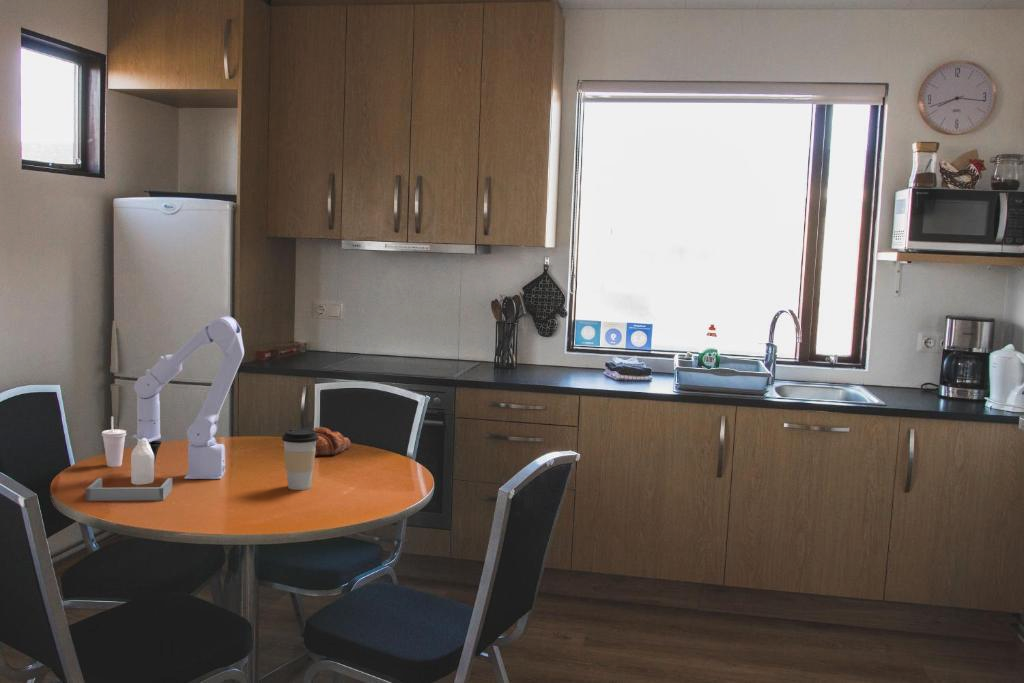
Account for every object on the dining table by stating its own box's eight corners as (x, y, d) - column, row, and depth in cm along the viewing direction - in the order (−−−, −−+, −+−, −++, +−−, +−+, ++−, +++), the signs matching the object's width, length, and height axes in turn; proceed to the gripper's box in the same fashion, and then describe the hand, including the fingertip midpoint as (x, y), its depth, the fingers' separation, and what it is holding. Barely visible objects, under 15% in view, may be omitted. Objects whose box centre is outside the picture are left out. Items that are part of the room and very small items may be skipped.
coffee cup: (279, 483, 242) (279, 428, 241) (315, 481, 246) (315, 427, 244) (283, 493, 233) (284, 435, 232) (320, 490, 237) (321, 434, 235)
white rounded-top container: (141, 434, 242) (159, 436, 240) (141, 478, 243) (159, 480, 241) (125, 438, 236) (143, 440, 234) (126, 483, 237) (143, 486, 236)
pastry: (302, 446, 288) (302, 421, 287) (351, 446, 289) (351, 422, 288) (294, 458, 271) (295, 432, 270) (346, 459, 273) (347, 433, 272)
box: (172, 489, 233) (172, 478, 233) (163, 500, 224) (163, 488, 223) (98, 489, 231) (98, 478, 230) (86, 500, 221) (85, 488, 220)
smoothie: (96, 465, 254) (96, 416, 252) (116, 461, 259) (115, 413, 258) (112, 469, 251) (111, 419, 249) (131, 464, 256) (131, 416, 255)
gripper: (140, 414, 251) (140, 462, 252) (125, 424, 236) (126, 475, 238) (166, 414, 252) (167, 462, 253) (153, 424, 237) (154, 475, 239)
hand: (149, 468), depth 245 cm, fingers closed
